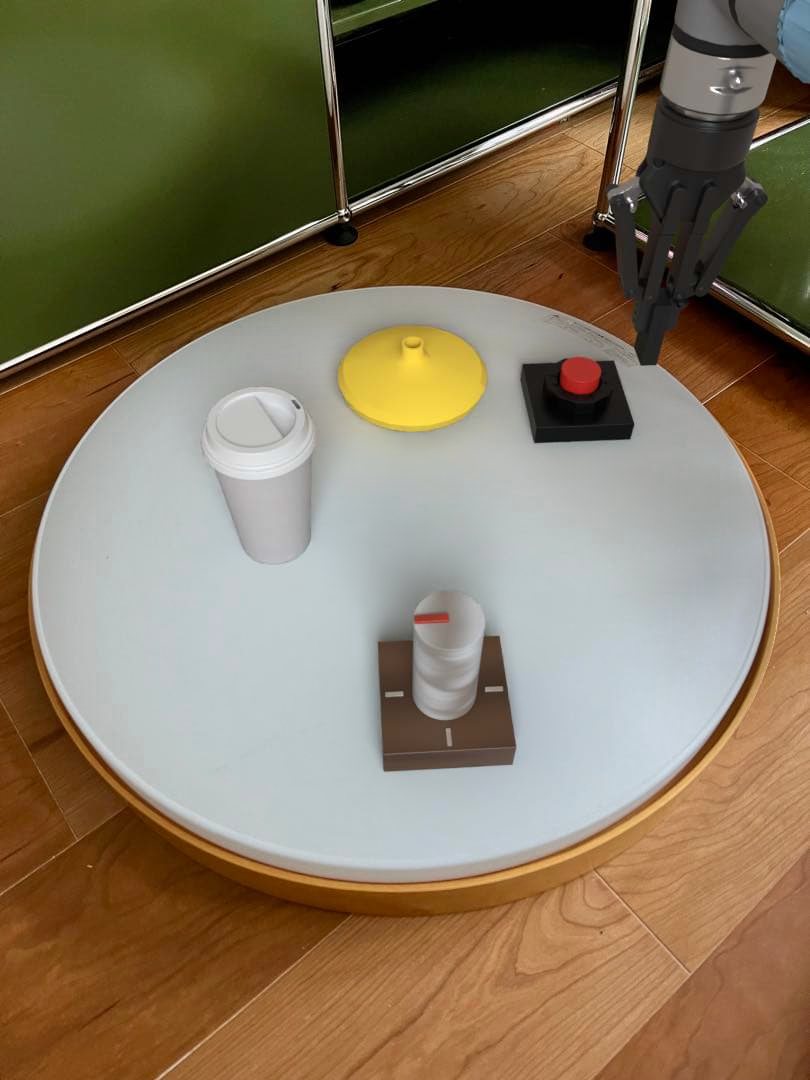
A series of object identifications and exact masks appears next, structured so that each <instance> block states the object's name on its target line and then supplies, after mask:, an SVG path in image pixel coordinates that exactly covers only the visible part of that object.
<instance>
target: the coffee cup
mask: <svg viewBox="0 0 810 1080" xmlns="http://www.w3.org/2000/svg"><path fill="white" fill-rule="evenodd" d="M317 442H318V429H317V426H316V423H315V421H314V419H313V417H312V415H311V414H310V412H309V411H308V410H307V409H306V407H305V406H304V405H302V403H301V402H300V400H298V398H296V396H294V395H292V394H291V393H290V392H287V391H285V390H283V389H280V388H276V387H270V386H269V387H268V386H250V387H244V388H241V389H239V390H235V391H232V392H230V393H229V394H226V395H224V396H223V397H222V398H220V399H219V400H218V401H217V402H216V403H215V404H214V405H213V406H212V407H211V409H210V411H209V413H208V415H207V418H206V420H205V422H204V424H203V427H202V430H201V435H200V450H201V451H200V452H201V454H202V455H203V458H204V459H205V462H207V463H208V464H209V465H210V466H211V467H212V468H213V470H214V472H215V476H216V478H217V481H218V484H219V486H220V489H221V491H222V494H223V497H224V500H225V503H226V506H227V509H228V511H229V514H230V517H231V519H232V522H233V525H234V528H235V530H236V533H237V537H238V539H239V542H240V545H241V546H242V549H243V551H244V553H245V554H246V555H247V556H248V557H249V558H250V559H252V560H254V561H255V562H257V563H260V564H265V565H281V564H282V565H283V564H286V563H289V562H292V561H293V560H296V559H297V558H299V557H300V556H301V555H302V554H303V553H304V552H305V551H306V550H307V549H308V547H309V546H310V545H309V544H310V542H311V537H312V454H313V452H314V450H315V448H316V445H317Z"/></svg>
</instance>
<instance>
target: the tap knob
mask: <svg viewBox="0 0 810 1080" xmlns="http://www.w3.org/2000/svg"><path fill="white" fill-rule="evenodd" d="M412 626H413V628H412V629H413V630H412V640H413V678H412V694H413V699H414V702H415V704H416V705H417V707H418V708H419V709H420V710H421V711H422V712H423V713H424V714H426V715H427V716H429V717H431V718H434V719H438V720H453V719H456V718H459V717H461V716H463V715H464V714H466V713H467V712H468V711H469V710H470V709H471V708H472V706H473V704H474V702H475V699H476V693H477V685H478V677H479V670H480V662H481V654H482V646H483V638H484V636H485V629H486V615H485V612H484V610H483V607H482V606H481V605H480V603H479V602H478V601H477V600H475V599H474V598H473V597H472V596H470V595H468V594H466V593H465V592H461V591H456V590H441V591H440V590H439V591H436V592H433V593H431V594H429V595H427V596H426V597H424V598H423V599H422V600H421V601H420V602H419V603H418V605H416V608H415V610H414V613H413V625H412Z"/></svg>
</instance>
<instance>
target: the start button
mask: <svg viewBox="0 0 810 1080" xmlns="http://www.w3.org/2000/svg"><path fill="white" fill-rule="evenodd" d="M595 361H596V360H594V359H591V358H589V357H586V356H585V357H584V356H573V357H570V359H568V360H566V361H565V362H564V363H563V365H562V368H561V374H560V380H559V381H560V385H561V386H562V388H563V389H564V390H566V391H568V392H571V393H574V394H577V395H578V394H590V393H592V392H594V391H595V390H596V389H597V388H598V384H599V380H600V375H601V368H600V366H599V365H598V364H597V363H596V362H595Z"/></svg>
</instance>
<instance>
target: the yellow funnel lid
mask: <svg viewBox="0 0 810 1080" xmlns="http://www.w3.org/2000/svg"><path fill="white" fill-rule="evenodd" d="M487 382H488V372H487V368H486V364H485V362H484V361H483V358H482V357H481V355H480V354H479V353H478V352H477V350H476V349H475V348H473V347H472V346H471V345H470V344H469V343H467V342H466V341H465V340H464V339H463V338H461V337H459V336H457V335H455V334H453V333H451V332H449V331H447V330H443V329H439V328H436V327H432V326H425V325H412V324H411V325H397V326H393V327H387V328H384V329H380V330H378V331H376V332H374V333H371V334H368V335H366V336H365V337H363V338H362V339H360V341H358V342H357V343H355V344H354V345H353V346H352V347H351V348H350V349H348V351H347V352H346V354H345V355H343V357H342V359H341V361H340V364H339V366H338V370H337V384H338V387H339V389H340V391H341V393H342V395H343V397H344V400H345V402H346V404H347V406H349V408H351V410H353V411H354V413H356V414H357V416H359V417H361V418H362V419H364V420H366V421H367V422H369V423H371V424H373V425H376V426H379V427H382V428H385V429H387V430H391V431H398V432H408V433H412V432H414V433H415V432H429V431H433V430H438V429H441V428H445V427H448V426H451V425H453V424H454V423H456V422H459V421H461V420H462V419H464V418H465V417H466V416H468V414H470V413H471V412H472V411H473V410H474V409H475V408H476V406H477V405H478V403H479V401H480V400H481V398H482V397H483V395H484V393H485V391H486V389H487V388H486V387H487Z"/></svg>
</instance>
